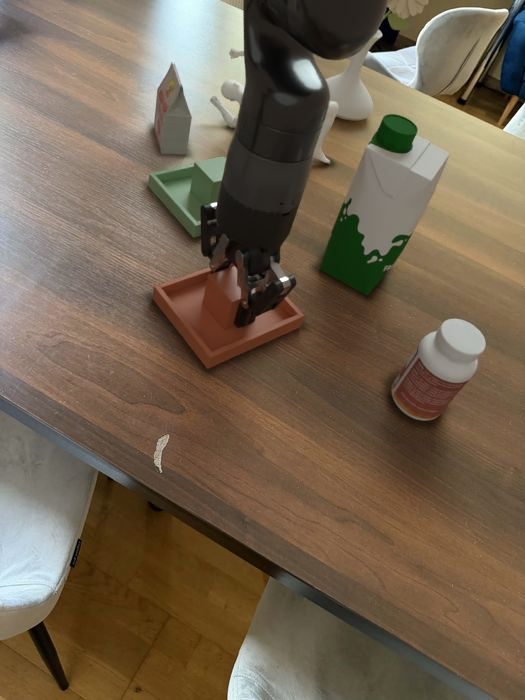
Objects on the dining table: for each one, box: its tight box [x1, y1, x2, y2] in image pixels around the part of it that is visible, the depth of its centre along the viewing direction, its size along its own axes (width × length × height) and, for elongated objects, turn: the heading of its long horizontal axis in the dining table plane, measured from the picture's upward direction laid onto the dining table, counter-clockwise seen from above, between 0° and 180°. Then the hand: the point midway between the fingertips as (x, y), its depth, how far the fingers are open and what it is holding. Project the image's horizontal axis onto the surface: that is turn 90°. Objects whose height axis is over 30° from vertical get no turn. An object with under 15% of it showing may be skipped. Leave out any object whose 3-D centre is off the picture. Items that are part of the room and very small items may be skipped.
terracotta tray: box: [152, 264, 306, 370], centre depth 65 cm, size 13×11×2 cm
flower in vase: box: [325, 0, 430, 122], centre depth 94 cm, size 13×11×25 cm
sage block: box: [190, 155, 226, 205], centre depth 76 cm, size 4×4×4 cm
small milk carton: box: [153, 61, 193, 156], centre depth 81 cm, size 4×7×10 cm, turn 16°
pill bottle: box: [391, 318, 487, 422], centre depth 60 cm, size 6×6×11 cm
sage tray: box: [147, 155, 227, 239], centre depth 78 cm, size 13×11×2 cm
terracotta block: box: [202, 266, 255, 330], centre depth 64 cm, size 4×4×4 cm
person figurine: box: [209, 48, 339, 165], centre depth 87 cm, size 13×13×18 cm
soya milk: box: [319, 113, 451, 297], centre depth 69 cm, size 9×9×20 cm
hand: (229, 308), depth 65 cm, fingers closed on terracotta block, 4 cm apart
